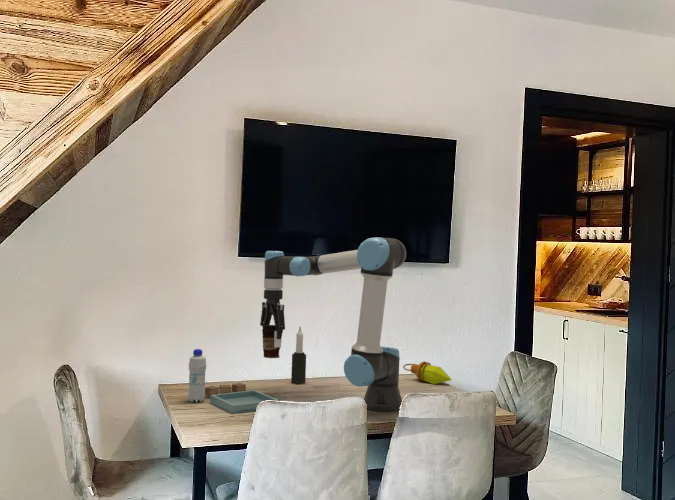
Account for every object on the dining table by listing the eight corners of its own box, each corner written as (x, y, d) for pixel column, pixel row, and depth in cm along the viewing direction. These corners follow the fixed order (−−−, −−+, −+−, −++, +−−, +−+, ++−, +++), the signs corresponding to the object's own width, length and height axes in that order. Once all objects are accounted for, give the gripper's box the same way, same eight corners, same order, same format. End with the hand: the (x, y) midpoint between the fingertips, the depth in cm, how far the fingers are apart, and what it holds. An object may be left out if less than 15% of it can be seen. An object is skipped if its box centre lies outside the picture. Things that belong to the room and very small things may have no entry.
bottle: (196, 404, 253) (198, 351, 253) (183, 401, 256) (185, 349, 256) (209, 400, 258) (210, 348, 258) (196, 398, 262) (197, 347, 262)
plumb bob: (456, 385, 306) (408, 371, 320) (457, 366, 303) (409, 353, 318) (447, 392, 299) (398, 378, 313) (448, 374, 296) (399, 360, 310)
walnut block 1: (218, 397, 266) (218, 387, 266) (211, 399, 262) (212, 388, 262) (210, 395, 268) (210, 385, 268) (203, 397, 264) (204, 387, 264)
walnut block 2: (231, 396, 267) (231, 386, 267) (221, 397, 266) (221, 387, 266) (229, 394, 271) (229, 384, 271) (219, 395, 270) (219, 385, 270)
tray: (279, 407, 251) (279, 399, 251) (233, 414, 240) (233, 405, 240) (254, 397, 267) (254, 390, 267) (210, 402, 255) (210, 395, 255)
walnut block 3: (245, 394, 272) (245, 384, 272) (237, 395, 269) (238, 385, 269) (239, 392, 275) (239, 382, 275) (231, 394, 272) (231, 384, 272)
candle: (306, 383, 297) (308, 326, 297) (298, 384, 293) (299, 327, 293) (298, 381, 301) (300, 325, 300) (290, 382, 297) (291, 326, 297)
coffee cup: (278, 360, 266) (279, 327, 266) (258, 358, 268) (259, 326, 267) (284, 356, 275) (285, 324, 274) (265, 355, 276) (266, 323, 276)
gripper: (295, 290, 265) (293, 348, 265) (268, 287, 282) (266, 341, 282) (278, 291, 260) (277, 349, 260) (252, 287, 277) (251, 342, 277)
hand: (271, 345), depth 271 cm, fingers closed on coffee cup, 8 cm apart
